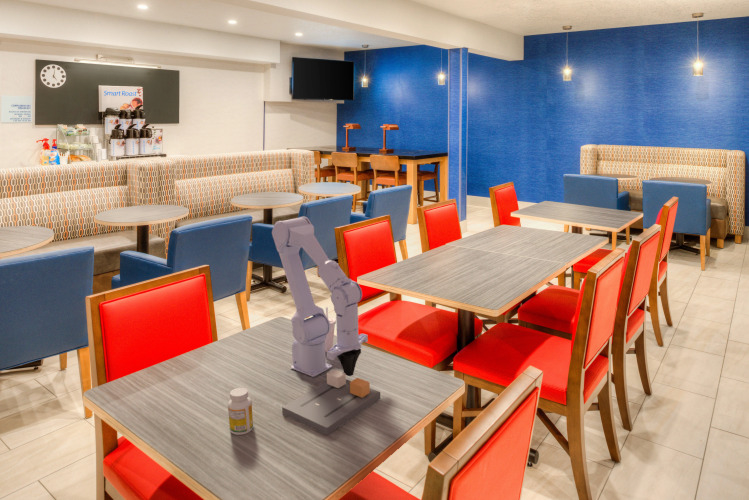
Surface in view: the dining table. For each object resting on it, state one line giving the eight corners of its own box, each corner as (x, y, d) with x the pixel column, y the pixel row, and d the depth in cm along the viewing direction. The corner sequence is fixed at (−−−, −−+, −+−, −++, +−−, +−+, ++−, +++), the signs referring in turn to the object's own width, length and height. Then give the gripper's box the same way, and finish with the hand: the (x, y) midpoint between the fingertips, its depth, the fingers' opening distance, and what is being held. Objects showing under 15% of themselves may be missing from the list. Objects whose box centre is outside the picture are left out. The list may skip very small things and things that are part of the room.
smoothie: (333, 354, 161) (332, 311, 158) (313, 352, 163) (311, 310, 159) (339, 345, 168) (337, 304, 164) (319, 344, 169) (318, 303, 165)
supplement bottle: (239, 438, 120) (235, 400, 117) (225, 430, 123) (221, 392, 121) (258, 427, 124) (255, 391, 121) (244, 420, 127) (241, 383, 125)
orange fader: (350, 392, 134) (349, 382, 133) (357, 388, 136) (357, 377, 135) (362, 397, 131) (361, 386, 131) (369, 392, 134) (369, 382, 133)
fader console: (282, 414, 129) (282, 406, 129) (337, 382, 144) (336, 375, 144) (327, 435, 120) (327, 427, 120) (380, 399, 135) (380, 392, 135)
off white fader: (327, 383, 139) (326, 373, 138) (334, 379, 141) (334, 369, 140) (338, 388, 136) (337, 377, 135) (345, 383, 138) (345, 373, 138)
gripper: (340, 340, 131) (342, 389, 134) (376, 322, 142) (376, 368, 145) (320, 333, 135) (322, 381, 138) (356, 316, 146) (357, 361, 150)
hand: (348, 374), depth 142 cm, fingers closed
